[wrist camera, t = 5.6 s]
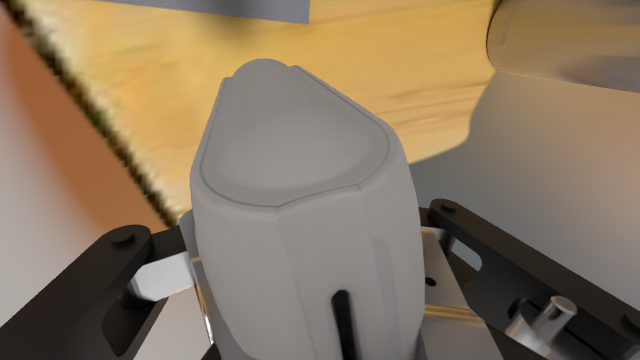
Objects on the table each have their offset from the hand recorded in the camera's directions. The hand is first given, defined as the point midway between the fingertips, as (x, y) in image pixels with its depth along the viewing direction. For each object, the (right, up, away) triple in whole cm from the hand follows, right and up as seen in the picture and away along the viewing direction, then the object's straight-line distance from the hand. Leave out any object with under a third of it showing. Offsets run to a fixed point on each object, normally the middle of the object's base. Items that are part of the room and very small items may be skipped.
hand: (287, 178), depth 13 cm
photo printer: (-1, +2, +3) cm, 3 cm away
